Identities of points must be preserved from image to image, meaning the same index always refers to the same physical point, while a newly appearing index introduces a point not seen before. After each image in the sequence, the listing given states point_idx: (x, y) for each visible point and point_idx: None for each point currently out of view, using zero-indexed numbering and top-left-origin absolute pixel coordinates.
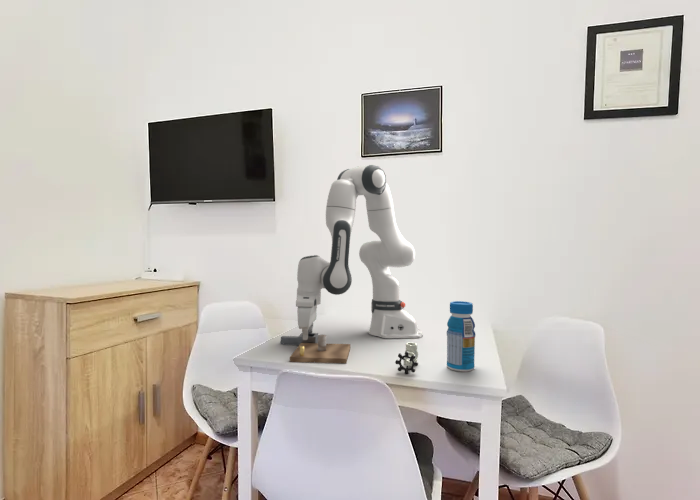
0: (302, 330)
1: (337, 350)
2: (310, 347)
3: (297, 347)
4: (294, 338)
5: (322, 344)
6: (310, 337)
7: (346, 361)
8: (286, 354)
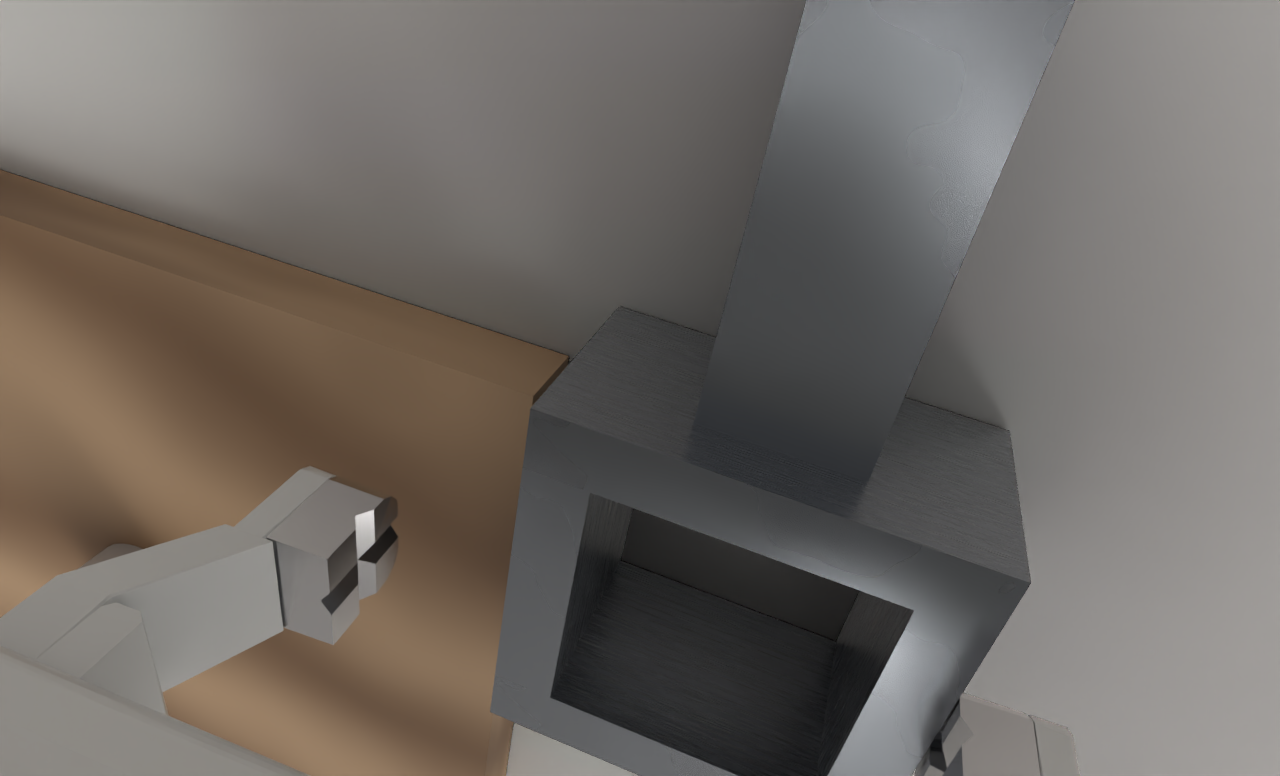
0: (54, 591)
1: None
2: (238, 488)
3: (196, 283)
4: (730, 298)
5: None
6: (504, 634)
7: None
8: (79, 44)
